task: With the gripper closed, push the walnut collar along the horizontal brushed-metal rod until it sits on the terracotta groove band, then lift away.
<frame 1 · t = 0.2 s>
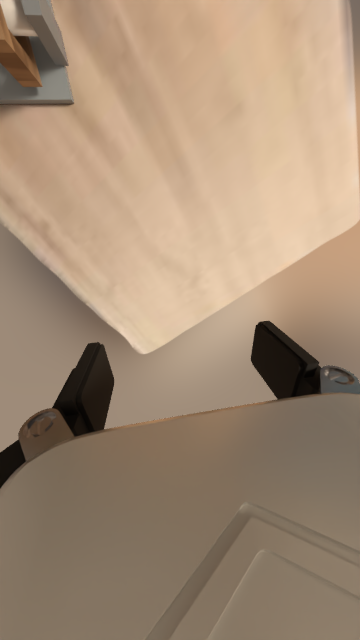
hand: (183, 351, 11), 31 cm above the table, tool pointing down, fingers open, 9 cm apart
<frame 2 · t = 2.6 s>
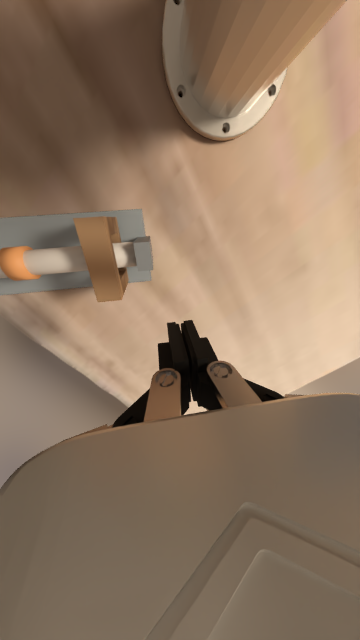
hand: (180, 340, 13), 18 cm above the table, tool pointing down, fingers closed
collar: (107, 256, 21), point 6 cm above the table, slide at 0.0 cm
pipe stand: (73, 252, 25), on the table
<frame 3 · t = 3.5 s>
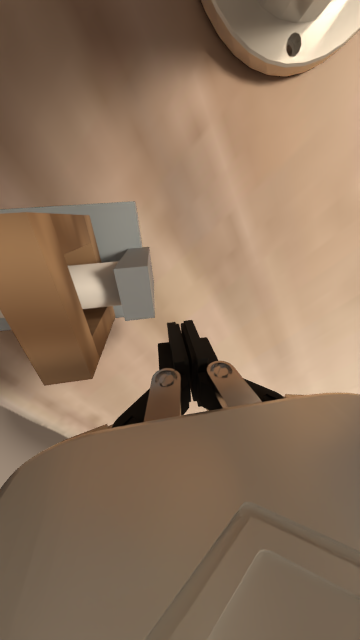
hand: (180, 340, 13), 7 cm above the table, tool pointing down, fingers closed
collar: (69, 289, 11), point 6 cm above the table, slide at 0.0 cm
pipe stand: (25, 273, 15), on the table
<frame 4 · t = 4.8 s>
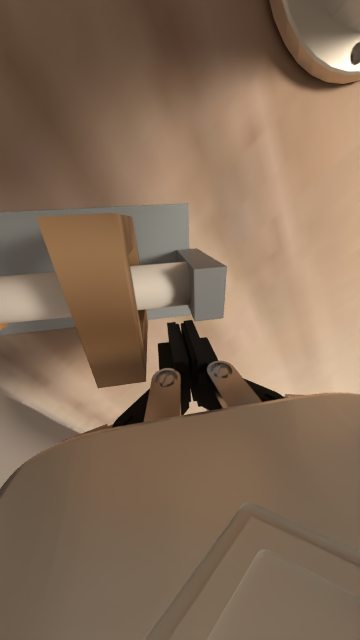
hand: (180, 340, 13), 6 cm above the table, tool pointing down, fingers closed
collar: (117, 291, 11), point 6 cm above the table, slide at 0.9 cm, touching gripper
pipe stand: (70, 273, 15), on the table
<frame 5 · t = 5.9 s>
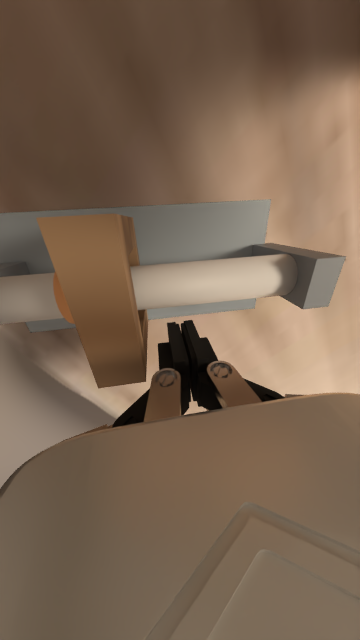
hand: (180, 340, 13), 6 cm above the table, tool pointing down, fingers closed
collar: (117, 291, 11), point 6 cm above the table, slide at 7.3 cm, touching gripper
pipe stand: (148, 267, 16), on the table
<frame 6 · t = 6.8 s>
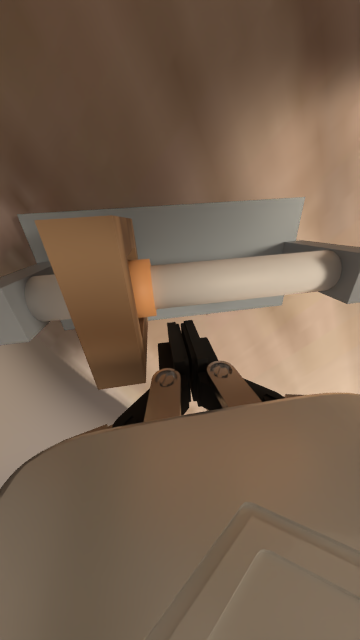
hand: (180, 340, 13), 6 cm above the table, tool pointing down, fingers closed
collar: (117, 292, 11), point 6 cm above the table, slide at 10.1 cm, touching gripper
pipe stand: (180, 265, 16), on the table
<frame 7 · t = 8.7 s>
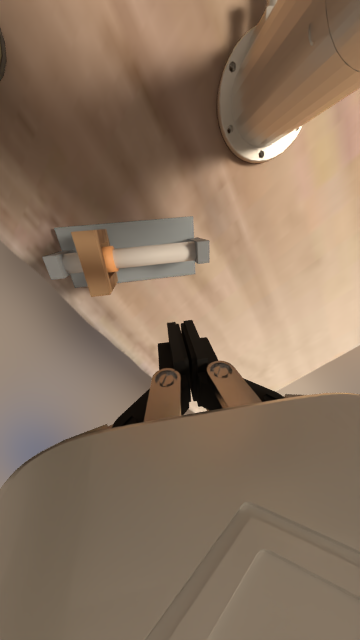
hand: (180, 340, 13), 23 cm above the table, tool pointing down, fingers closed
collar: (99, 260, 26), point 6 cm above the table, slide at 10.1 cm
pipe stand: (135, 252, 31), on the table
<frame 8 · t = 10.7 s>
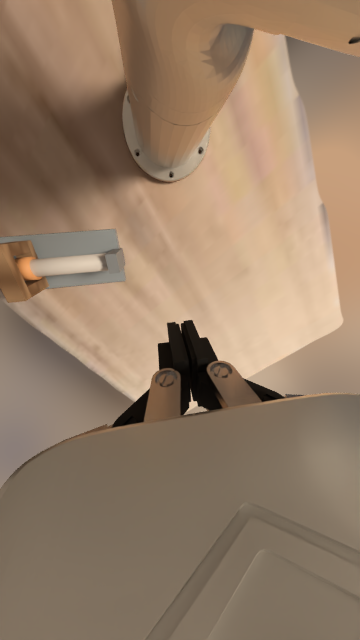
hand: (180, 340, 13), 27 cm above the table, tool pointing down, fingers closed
collar: (20, 269, 28), point 6 cm above the table, slide at 10.1 cm
pipe stand: (66, 260, 34), on the table
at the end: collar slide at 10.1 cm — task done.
